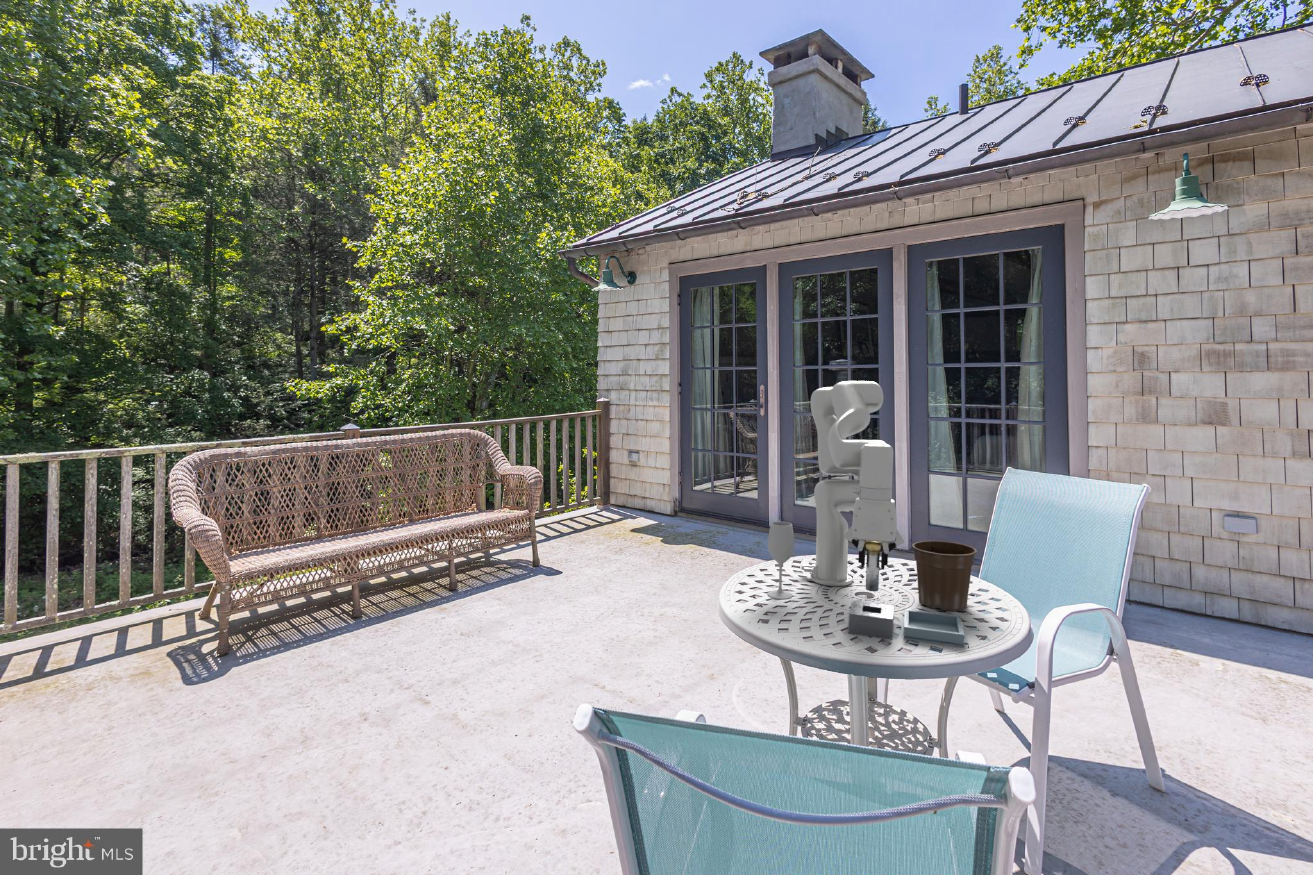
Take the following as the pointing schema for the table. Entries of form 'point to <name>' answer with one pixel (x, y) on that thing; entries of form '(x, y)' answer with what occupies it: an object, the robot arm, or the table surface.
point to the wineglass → (781, 551)
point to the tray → (933, 628)
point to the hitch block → (871, 619)
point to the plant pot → (943, 573)
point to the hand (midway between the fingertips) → (872, 566)
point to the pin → (872, 564)
